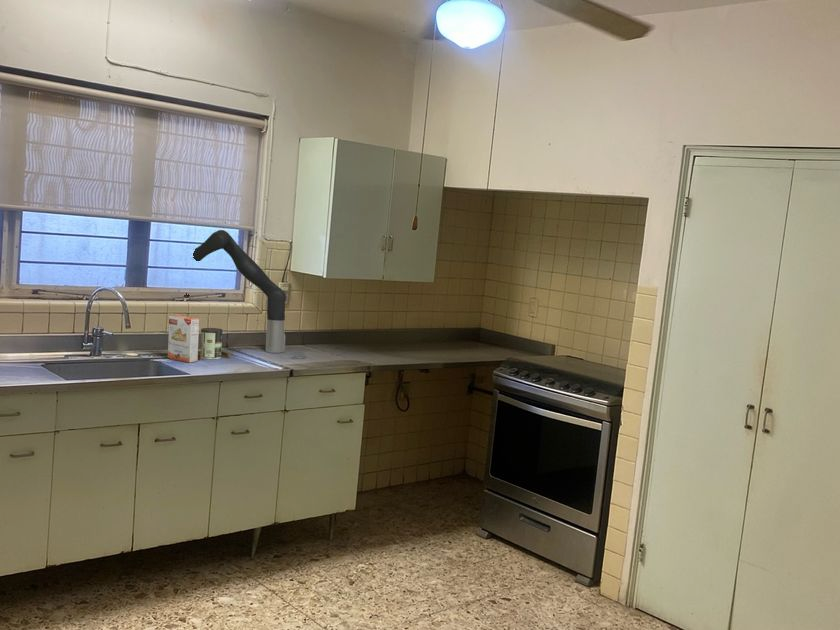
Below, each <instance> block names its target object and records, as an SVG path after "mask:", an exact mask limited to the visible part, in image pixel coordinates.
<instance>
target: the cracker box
mask: <svg viewBox="0 0 840 630" xmlns="http://www.w3.org/2000/svg"><path fill="white" fill-rule="evenodd" d="M168 318H169V319H168V337H167V338H168V342H167V345H168V346H167V359H168V358H170V359H169V360H172V359H174V361H177V360H178V361H179V362H182V363H187V364H191V363H196V362H198V353H199V337H200V336H199V333H200V318H196V317H194V318H191V317H187V316H183V315H180V314H179V315H177V314H176V315H169V317H168Z"/></svg>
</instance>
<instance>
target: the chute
mask: <svg viewBox="0 0 840 630" xmlns="http://www.w3.org/2000/svg"><path fill="white" fill-rule="evenodd" d="M221 358H225V359H231V352H229V351H225V350H223V349H222V350H221ZM198 359H199V361H203V360H204V359H203V355H202V354H200V353H199V352H198Z"/></svg>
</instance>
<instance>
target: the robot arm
mask: <svg viewBox="0 0 840 630" xmlns="http://www.w3.org/2000/svg"><path fill="white" fill-rule="evenodd" d="M194 249H195V251H194V253H193V256H194V257H193V258H194V259H195V260H196V261H200V262H201V261H202V260H203V259H205V258H206V257H207V256H209V255H210V254H213V253H215V252H217V251H219V250H223V251H224V252H225V253H227V254H228V255H229V256H230V258H231V259H232V261H233V263H234V265H235V267H236V270H238V271H239V273H240V274H241V275H242V276H243V277H244V278H246V280H247V281H249V283H251V284H252V285H254V286H255V287H257V288H258V289H259V290H261V292H263V293H264V295H265V296H266V297H267V301H266V305H267V306H266V331H265V332H266V335H265V352H266V353H270V354H273V353H274V354H282V353H285V352H286V339H287V338H286V335H287V334H286V333H285V324H286V323H285V322H286V302H287V293H286V292H285V291H284V290H283V289H282V288H280V286H278V285H277V284H275V282H274V281H272V280H271V279H270V277H269V276H268V275H267V274H266V273H265V271H264V270H263V269H261V267H260V266H259V265H258V264H257V262H256V261H254V260H253V259H252V257H251V256H249V255H248V254H247V253H246V252H245V251H244V250H243V249H242V248H241V247H240V245H238V243H237V242H236V241H235V239H234V238H233V237H232V236H231V235H230V233H229V232H228V231H226V230H224V229H219V230H216V231H215V232H213V233H211V234H210V236H209V237H208V238H207V239H205V241H204V242H203V243H202V244H200V245H199V246H197V247H196V248H194ZM189 296H190V295H189V294H188V295H187V293H186V295H184V297H185V298H188V297H189Z"/></svg>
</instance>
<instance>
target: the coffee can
mask: <svg viewBox="0 0 840 630" xmlns="http://www.w3.org/2000/svg"><path fill="white" fill-rule="evenodd" d="M223 331H224V330H223V329H222V328H217V327H204V328H203V327H202V328H200V350H199V352H200V353H199V354H202V355H203V360H220V359H222V356H221V350H222V351H223V347H222V345H223Z"/></svg>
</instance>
